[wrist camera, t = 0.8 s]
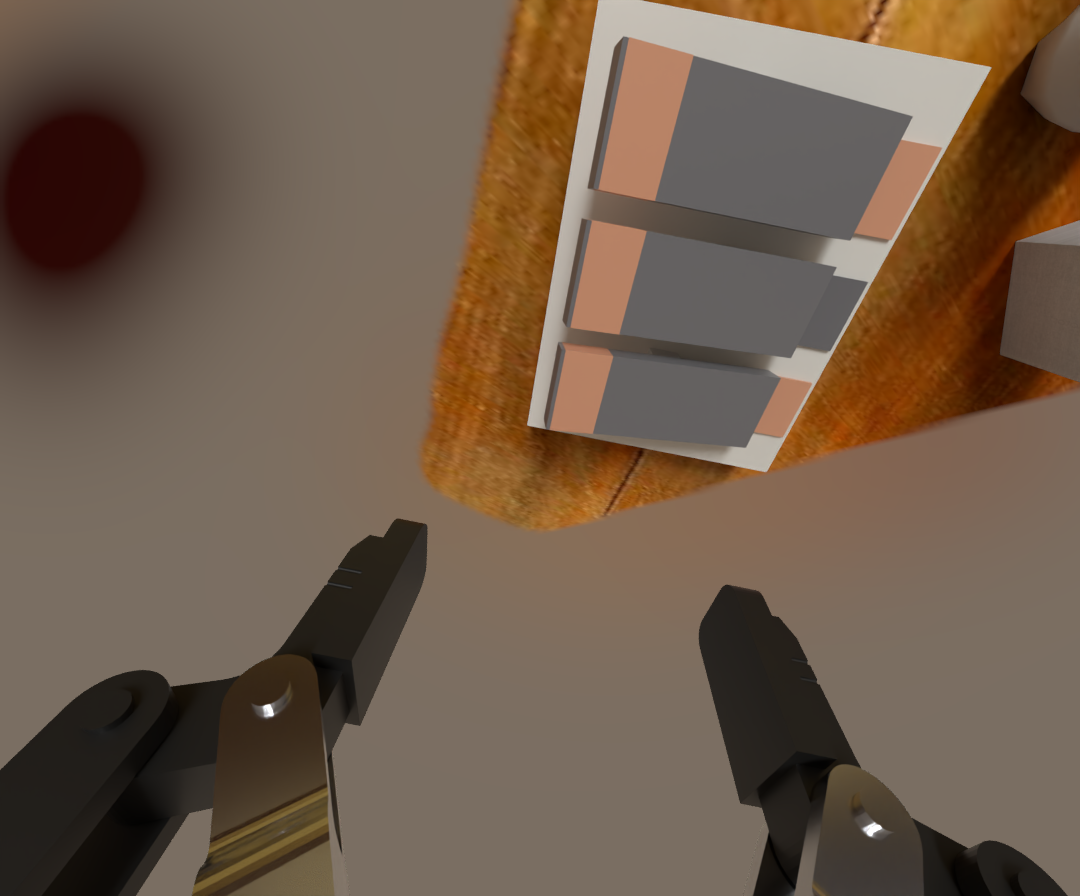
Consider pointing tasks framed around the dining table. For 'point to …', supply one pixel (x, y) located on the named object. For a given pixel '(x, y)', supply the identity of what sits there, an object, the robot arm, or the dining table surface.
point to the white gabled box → (1045, 302)
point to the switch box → (801, 58)
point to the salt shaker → (1057, 75)
